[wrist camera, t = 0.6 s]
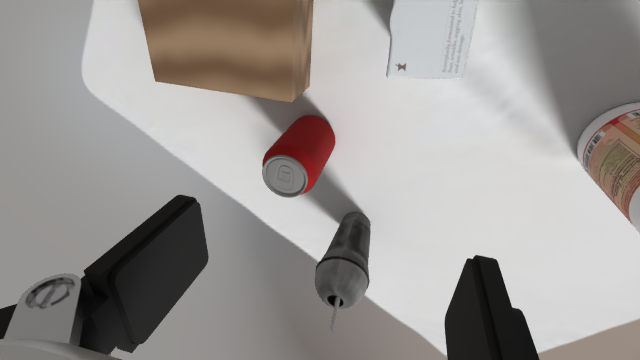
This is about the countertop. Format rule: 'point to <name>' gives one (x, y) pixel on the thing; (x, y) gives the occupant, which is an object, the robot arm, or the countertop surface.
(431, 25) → the skincare box
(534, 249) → the countertop surface
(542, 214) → the countertop surface
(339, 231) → the beverage cup
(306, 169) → the beverage can
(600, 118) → the fruit juice
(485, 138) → the countertop surface
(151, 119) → the countertop surface
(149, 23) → the walnut block
